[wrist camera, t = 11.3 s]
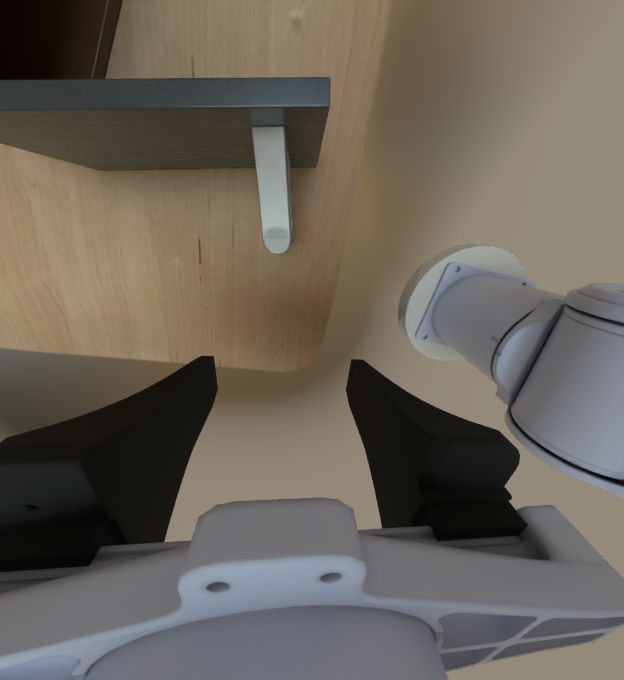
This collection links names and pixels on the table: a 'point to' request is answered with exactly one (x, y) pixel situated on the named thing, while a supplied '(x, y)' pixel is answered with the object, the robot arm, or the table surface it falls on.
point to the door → (177, 129)
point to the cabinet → (56, 38)
